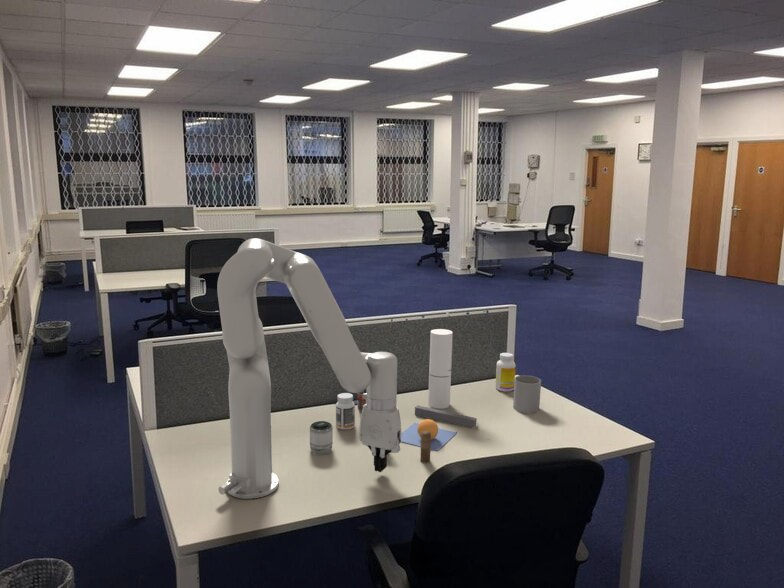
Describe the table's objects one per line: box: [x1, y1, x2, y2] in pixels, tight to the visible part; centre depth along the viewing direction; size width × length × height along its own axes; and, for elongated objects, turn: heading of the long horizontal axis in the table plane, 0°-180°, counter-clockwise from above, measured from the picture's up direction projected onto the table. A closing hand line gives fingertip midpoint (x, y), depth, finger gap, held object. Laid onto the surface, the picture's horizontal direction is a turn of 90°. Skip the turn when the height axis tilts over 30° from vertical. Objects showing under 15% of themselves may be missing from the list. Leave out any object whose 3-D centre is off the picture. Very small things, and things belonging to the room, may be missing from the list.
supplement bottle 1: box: [357, 388, 367, 411], centre depth 204 cm, size 6×6×11 cm
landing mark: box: [401, 422, 458, 452], centre depth 185 cm, size 14×14×1 cm
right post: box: [420, 431, 431, 464], centre depth 169 cm, size 3×3×8 cm
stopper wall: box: [414, 405, 478, 429], centre depth 196 cm, size 2×20×2 cm, turn 62°
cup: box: [512, 374, 542, 414], centre depth 207 cm, size 8×8×10 cm
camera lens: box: [309, 420, 334, 456], centre depth 174 cm, size 6×6×8 cm
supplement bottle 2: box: [495, 352, 517, 393], centre depth 224 cm, size 7×7×13 cm
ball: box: [417, 418, 439, 440], centre depth 182 cm, size 6×6×6 cm
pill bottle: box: [335, 392, 356, 431], centre depth 190 cm, size 6×6×10 cm
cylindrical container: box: [427, 328, 454, 410], centre depth 207 cm, size 7×7×25 cm
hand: (380, 469), depth 161 cm, fingers closed
